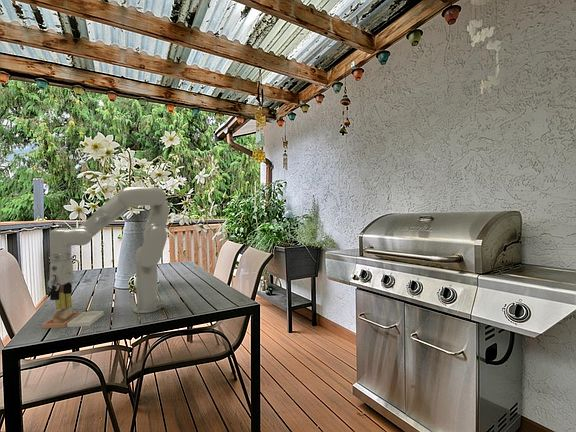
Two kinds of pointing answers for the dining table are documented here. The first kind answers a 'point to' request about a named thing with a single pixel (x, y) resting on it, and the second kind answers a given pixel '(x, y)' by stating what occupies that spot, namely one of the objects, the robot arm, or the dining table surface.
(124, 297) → the dining table surface
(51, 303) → the dining table surface
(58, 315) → the letter cube
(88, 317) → the tray
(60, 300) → the sauce bottle
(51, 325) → the tray
